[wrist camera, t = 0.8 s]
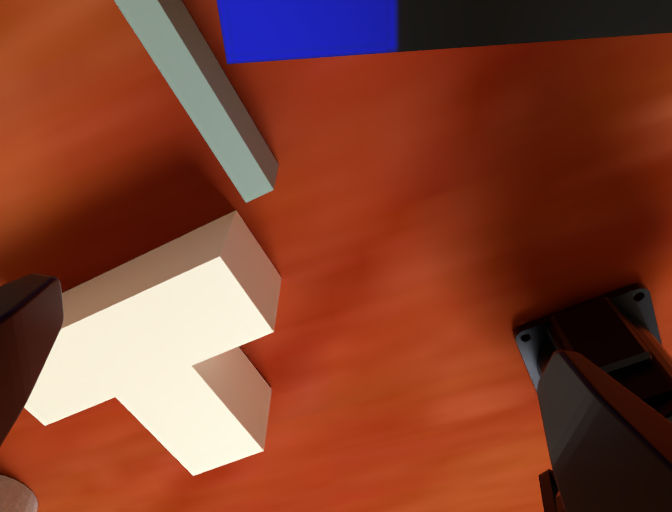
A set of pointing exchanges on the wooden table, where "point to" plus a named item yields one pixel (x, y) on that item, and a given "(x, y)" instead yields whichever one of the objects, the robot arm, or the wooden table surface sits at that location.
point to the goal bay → (204, 92)
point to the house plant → (16, 496)
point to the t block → (172, 345)
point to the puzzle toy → (422, 24)
